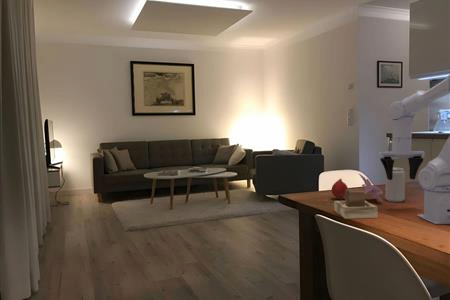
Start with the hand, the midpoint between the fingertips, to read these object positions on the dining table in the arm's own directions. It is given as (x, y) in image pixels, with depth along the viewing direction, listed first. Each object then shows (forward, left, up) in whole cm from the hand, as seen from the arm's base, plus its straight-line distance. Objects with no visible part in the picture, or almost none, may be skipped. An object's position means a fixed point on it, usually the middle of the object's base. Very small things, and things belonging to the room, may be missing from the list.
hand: (401, 179), depth 123 cm
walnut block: (-5, +18, -7) cm, 20 cm away
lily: (+12, +5, -10) cm, 16 cm away
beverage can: (+12, -4, -10) cm, 16 cm away
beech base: (-6, +18, -10) cm, 21 cm away
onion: (+16, +15, -10) cm, 24 cm away
